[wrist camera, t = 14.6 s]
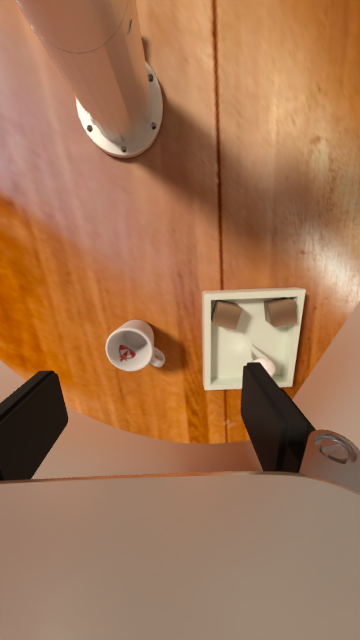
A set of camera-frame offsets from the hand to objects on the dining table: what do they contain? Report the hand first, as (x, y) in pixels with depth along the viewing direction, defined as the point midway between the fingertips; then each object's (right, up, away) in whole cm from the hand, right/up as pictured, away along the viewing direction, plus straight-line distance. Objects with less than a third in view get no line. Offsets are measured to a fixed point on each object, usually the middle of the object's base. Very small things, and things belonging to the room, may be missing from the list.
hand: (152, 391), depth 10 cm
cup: (-6, 0, +32) cm, 32 cm away
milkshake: (+15, -3, +32) cm, 36 cm away
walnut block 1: (+10, +5, +30) cm, 32 cm away
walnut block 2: (+20, +6, +30) cm, 36 cm away
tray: (+15, 0, +32) cm, 35 cm away
